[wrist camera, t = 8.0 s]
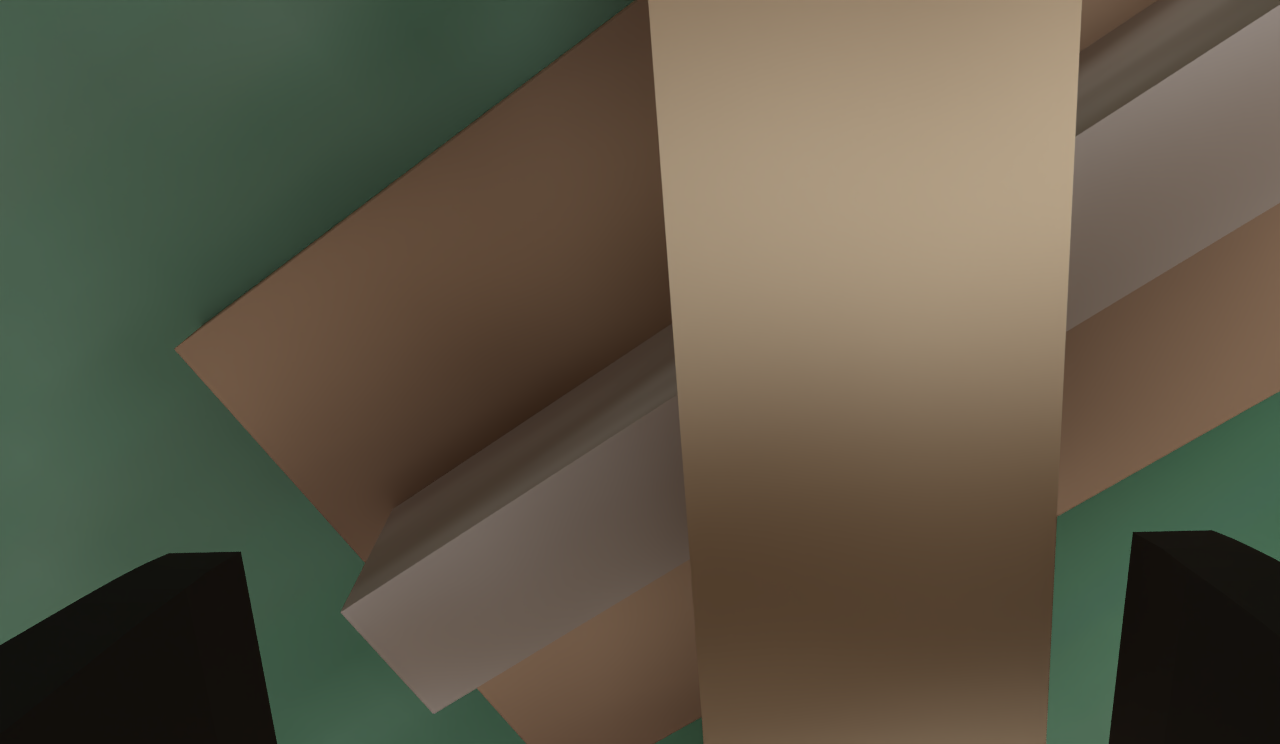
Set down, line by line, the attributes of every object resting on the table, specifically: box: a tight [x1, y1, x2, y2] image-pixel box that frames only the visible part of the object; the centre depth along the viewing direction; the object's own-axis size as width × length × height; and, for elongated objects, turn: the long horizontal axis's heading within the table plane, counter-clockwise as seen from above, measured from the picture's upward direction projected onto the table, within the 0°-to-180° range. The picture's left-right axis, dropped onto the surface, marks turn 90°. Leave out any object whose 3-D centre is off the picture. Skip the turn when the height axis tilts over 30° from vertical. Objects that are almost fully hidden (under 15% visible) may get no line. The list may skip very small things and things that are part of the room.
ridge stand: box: [175, 0, 1280, 744], centre depth 17 cm, size 10×16×4 cm, turn 126°
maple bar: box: [648, 0, 1082, 744], centre depth 12 cm, size 20×3×5 cm, turn 5°
